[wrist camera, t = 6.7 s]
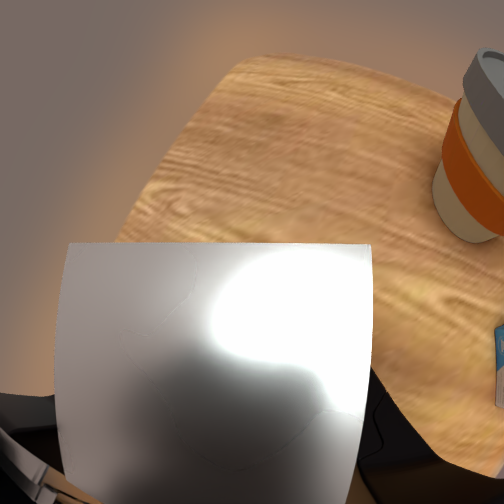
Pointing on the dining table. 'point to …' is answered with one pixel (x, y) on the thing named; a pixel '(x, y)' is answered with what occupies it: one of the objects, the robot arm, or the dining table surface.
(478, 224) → the reusable coffee cup
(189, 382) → the silver tall square block
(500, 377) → the ink box
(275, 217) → the dining table surface
